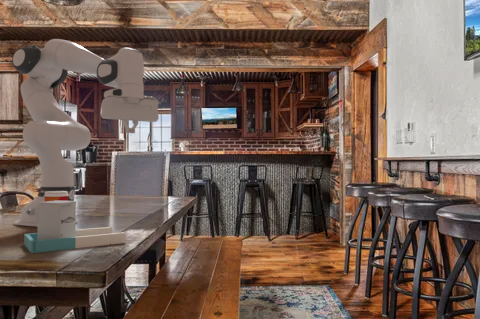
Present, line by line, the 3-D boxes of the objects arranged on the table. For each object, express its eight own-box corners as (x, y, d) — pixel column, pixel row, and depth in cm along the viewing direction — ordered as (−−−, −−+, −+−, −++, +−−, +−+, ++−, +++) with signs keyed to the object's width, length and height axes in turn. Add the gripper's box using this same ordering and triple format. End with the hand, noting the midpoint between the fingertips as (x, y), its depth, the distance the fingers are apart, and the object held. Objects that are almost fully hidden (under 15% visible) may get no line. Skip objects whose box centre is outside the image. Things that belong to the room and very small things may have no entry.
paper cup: (43, 232, 135) (44, 190, 135) (68, 231, 138) (69, 190, 138) (42, 237, 128) (42, 192, 128) (68, 235, 131) (69, 192, 131)
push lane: (31, 253, 106) (31, 241, 106) (24, 244, 117) (24, 234, 117) (125, 242, 120) (125, 232, 120) (111, 236, 131) (111, 226, 131)
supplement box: (59, 249, 111) (59, 203, 111) (36, 247, 113) (36, 202, 113) (76, 244, 118) (76, 200, 118) (54, 242, 120) (55, 199, 120)
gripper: (154, 98, 153) (154, 135, 153) (99, 92, 141) (98, 132, 141) (161, 96, 147) (161, 134, 147) (104, 89, 136) (104, 131, 136)
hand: (130, 133), depth 144 cm, fingers closed
